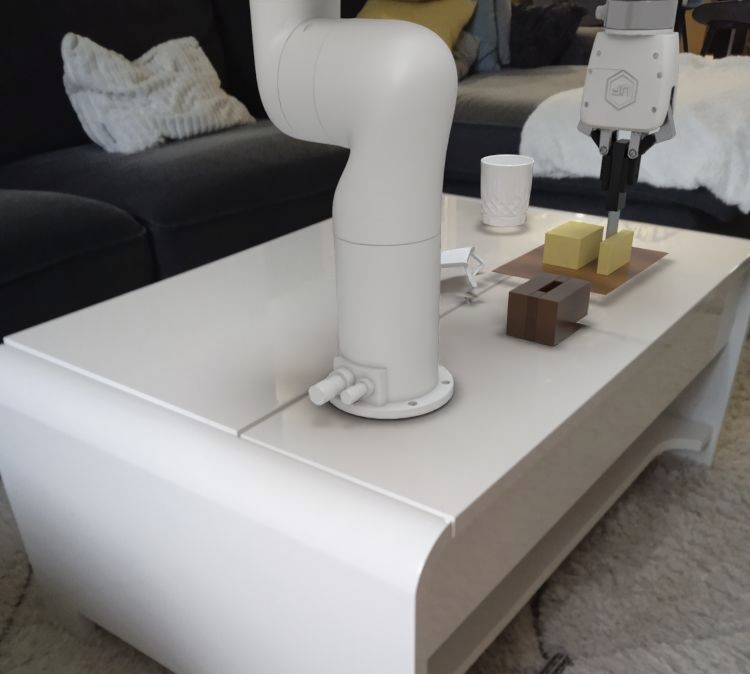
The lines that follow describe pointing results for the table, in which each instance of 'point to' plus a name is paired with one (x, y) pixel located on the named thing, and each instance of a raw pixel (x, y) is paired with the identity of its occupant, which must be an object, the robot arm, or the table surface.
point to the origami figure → (462, 263)
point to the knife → (615, 186)
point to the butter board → (582, 268)
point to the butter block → (572, 244)
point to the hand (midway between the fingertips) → (617, 188)
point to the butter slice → (615, 252)
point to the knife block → (547, 308)
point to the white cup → (505, 189)
